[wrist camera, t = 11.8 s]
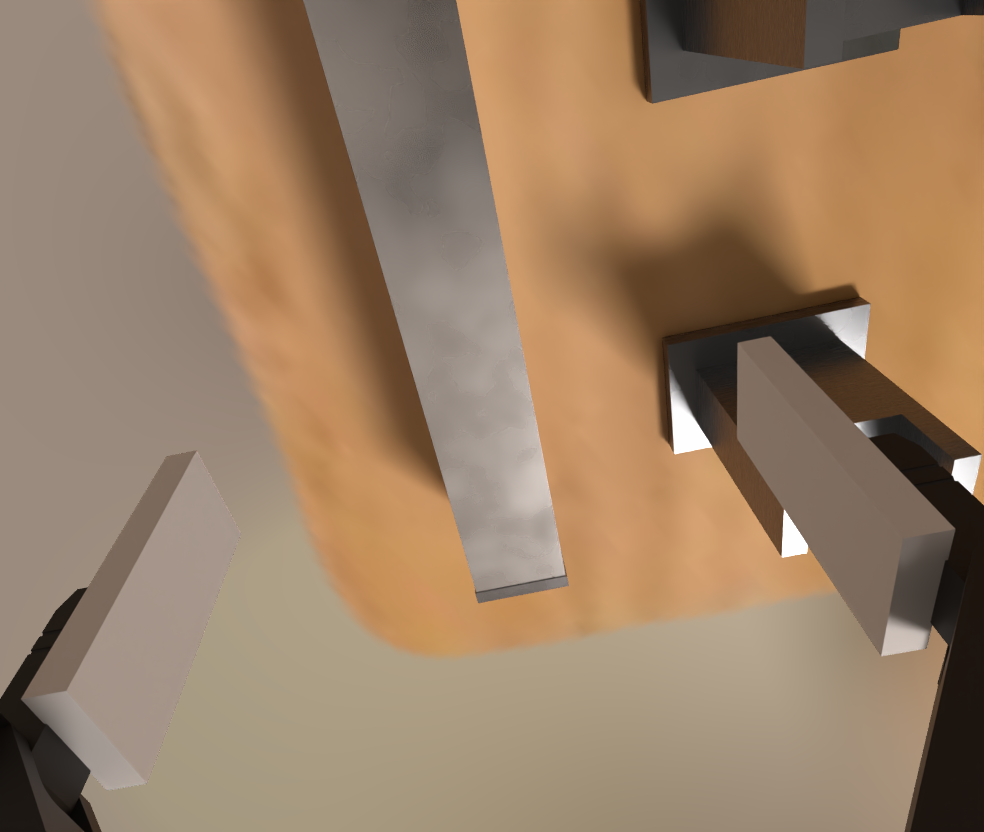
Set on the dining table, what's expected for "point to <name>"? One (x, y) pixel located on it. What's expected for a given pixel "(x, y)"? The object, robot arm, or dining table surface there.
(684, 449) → the post
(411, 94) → the rail
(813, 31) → the post
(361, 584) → the dining table surface
